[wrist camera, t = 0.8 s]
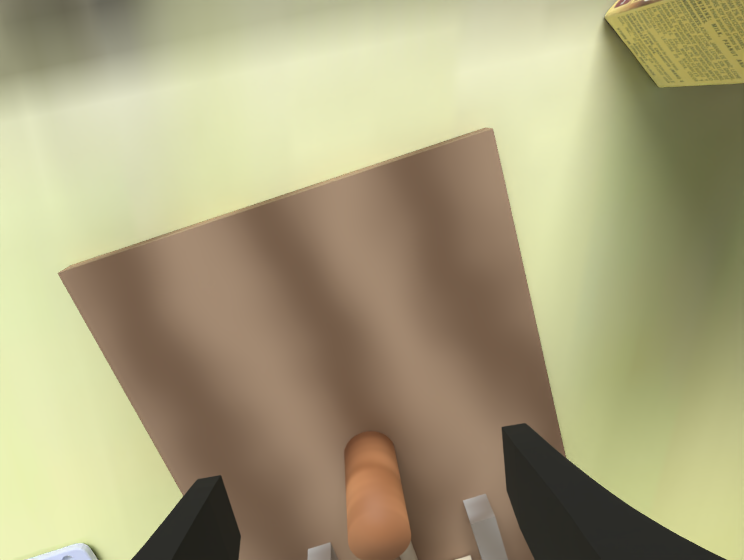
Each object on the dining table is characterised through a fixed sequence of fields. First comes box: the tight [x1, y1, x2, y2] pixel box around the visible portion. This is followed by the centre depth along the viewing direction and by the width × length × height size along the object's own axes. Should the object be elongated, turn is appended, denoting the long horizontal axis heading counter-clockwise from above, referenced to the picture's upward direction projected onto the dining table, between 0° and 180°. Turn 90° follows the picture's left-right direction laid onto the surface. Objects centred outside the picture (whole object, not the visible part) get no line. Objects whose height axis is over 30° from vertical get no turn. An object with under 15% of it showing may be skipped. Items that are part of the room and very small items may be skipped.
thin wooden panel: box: [58, 128, 566, 560], centre depth 25 cm, size 18×36×2 cm, turn 18°
